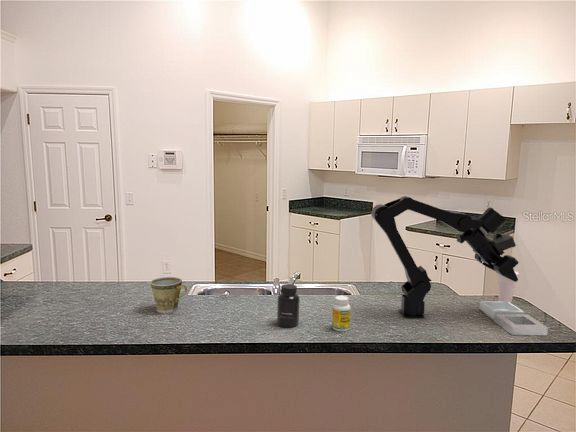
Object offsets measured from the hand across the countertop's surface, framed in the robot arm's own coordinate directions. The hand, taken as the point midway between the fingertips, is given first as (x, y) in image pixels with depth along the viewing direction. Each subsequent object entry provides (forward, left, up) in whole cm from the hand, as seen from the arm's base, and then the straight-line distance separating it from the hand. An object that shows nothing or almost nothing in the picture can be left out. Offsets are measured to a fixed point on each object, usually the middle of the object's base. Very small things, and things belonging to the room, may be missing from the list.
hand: (511, 278), depth 133 cm
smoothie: (-1, 0, -8) cm, 8 cm away
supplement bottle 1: (-72, -8, -13) cm, 74 cm away
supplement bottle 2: (-56, -11, -13) cm, 59 cm away
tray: (-1, +2, -13) cm, 13 cm away
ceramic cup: (-111, +2, -13) cm, 112 cm away
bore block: (-1, -9, -13) cm, 16 cm away
